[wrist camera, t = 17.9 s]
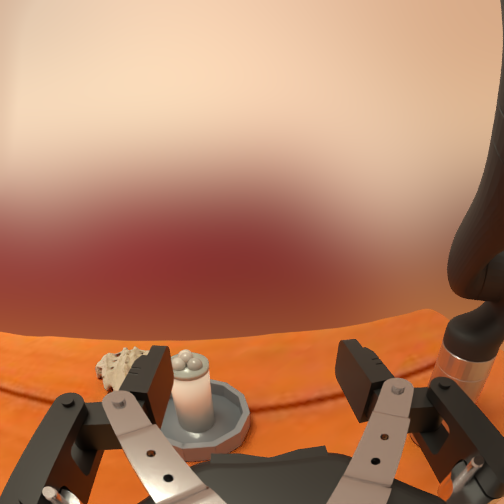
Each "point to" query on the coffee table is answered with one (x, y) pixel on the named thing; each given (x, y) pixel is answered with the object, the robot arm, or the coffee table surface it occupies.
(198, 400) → the pebble cup
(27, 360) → the coffee table surface
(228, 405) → the bowl
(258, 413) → the coffee table surface
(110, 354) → the coral
